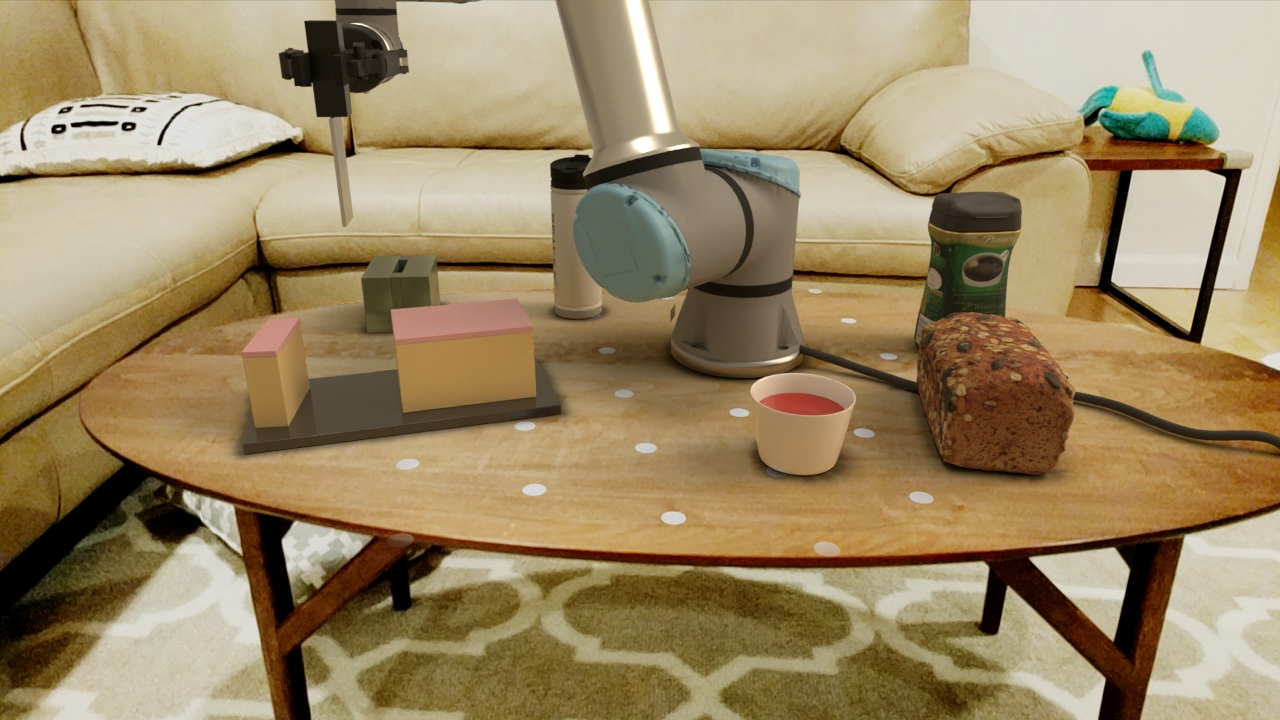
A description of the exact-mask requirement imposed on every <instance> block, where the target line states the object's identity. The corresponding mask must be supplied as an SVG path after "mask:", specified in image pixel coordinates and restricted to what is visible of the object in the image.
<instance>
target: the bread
mask: <svg viewBox="0 0 1280 720" xmlns="http://www.w3.org/2000/svg"><path fill="white" fill-rule="evenodd" d="M916 370H917V371H916V382H917V383H918V390H919V392H918V394H919V396H920V400H921V404H922V407H923V412H924V415H925V416H926V420H927V422H928V425H929V430H930V431H931V432H932V438H933V440H934V443H935V447H936V448H937V451H938V454H939V455H940V456H941V458H942V461H943V462H946V463H949V464H951V465H954V466H958V467H961V468H965V469H974V470H975V469H976V470H982V471H999V472H1007V473H1016V474H1017V473H1018V474H1019V473H1020V474H1027V475H1036V476H1037V475H1044V474H1049V473H1051V472H1052V471H1053V470H1054V469H1055V468H1056V467H1057V465H1058V463H1060V456H1061V454H1062V453H1064V452H1065V451H1066V448H1067V447H1066V442H1067V440H1068V439H1069V431H1070V429H1071V427H1072V425H1073V423H1074V418H1075V409H1074V405H1073V404H1074V403H1075V401H1074V400H1073V398H1074V395H1075V392H1077V390H1076V387H1075V386H1074V385H1073V384H1072V383H1071V381H1070V380H1069V378H1070V376H1069V374H1068V373H1067V372H1065V371H1064V370H1063V367H1062V365H1061V364H1060V363H1058V361H1057V360H1056V358H1055V357H1053V356H1052V353H1050V352H1049V351H1048V350H1047V349H1046V348H1045V347H1044V346H1043V345H1042V343H1041V342H1040V341H1039V339H1038V338H1037V336H1036V333H1033V331H1032V330H1031V328H1030V327H1029V326H1028V325H1027V324H1025V323H1024V322H1022V321H1021V320H1019V319H1017V318H1013V317H1006V316H1005V317H1002V316H998V315H993V314H981V313H974V312H970V313H966V312H964V313H957V312H955V313H951V314H949V315H948V316H946V317H945V318H942V319H940V320H938V321H936V322H931V323H930V324H929V325H927V326H925V328H924V329H922V332H921V335H920V339H919V346H918V356H917V358H916Z"/></svg>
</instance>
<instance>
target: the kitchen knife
mask: <svg viewBox="0 0 1280 720" xmlns="http://www.w3.org/2000/svg"><path fill="white" fill-rule="evenodd" d="M303 22H304V23H303V25H304V31H305V38H306V45H307V52H308V54H309V61H310V69H311V76H312V91H313V98H314V99H313V100H314V107H315V115H316V118H328V123H329V132H330V139H331V147H332V156H333V164H334V171H335V179H336V187H337V194H338V202H339V210H340V218H341V226H342V227H343V228H347V227H348V225H349V224H350V222H351V221H352V220H353V218H354V210H353V202H352V195H351V194H352V193H351V186H350V185H351V184H350V178H349V169H348V161H347V154H346V145H345V137H344V129H343V128H344V127H343V122H342V121H343V120H342V118H347V117H348V118H349V116H351V115H352V114H353V108H352V101H351V100H352V99H351V92H350V90H349V84H347V85H345V86H336V85H335V77H334V69H333V60H332V56H333V55H337V54H341V53H345V48H344V39H343V31H342V22H341V20H336V19H334V20H333V19H319V20H318V19H309V20H304V21H303Z"/></svg>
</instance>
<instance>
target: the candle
mask: <svg viewBox="0 0 1280 720" xmlns="http://www.w3.org/2000/svg"><path fill="white" fill-rule="evenodd" d="M749 393H750V402H751V408H752V409H751V410H752V416H753V425H754V431H755V438H756V445H757V451H758V456H759V459H761V461H762V462H763V463H764V464H765V465H767V466H768V467H769V468H771V469H772V470H775V471H777V472H781V473H784V474H790V475H794V476H813V475H818V474H823V473H825V472H828V471H829V470H831V469H832V468H833V467H834V466H835V465H836V463H837V462H838V459H839V456H840V453H841V450H842V447H843V444H844V441H845V437H846V434H847V431H848V428H849V424H850V422H851V418H852V414H853V412H854V408H855V406H856V402H857V396H856V394H855V392H854V391H853V389H852V388H850V387H849V386H848V385H846V384H844V383H843V382H841V381H838V380H836V379H833V378H831V377H826V376H823V375H819V374H812V373H805V372H804V373H802V372H801V373H800V372H784V373H781V374H776V375H771V376H766V377H761V378H759V379H758V380H756V381H755V382H754V383H753V384H752V385H751V387H750V391H749Z"/></svg>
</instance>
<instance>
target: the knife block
mask: <svg viewBox="0 0 1280 720" xmlns="http://www.w3.org/2000/svg"><path fill="white" fill-rule="evenodd" d="M437 260H438V259H437V254H414V255H413V254H411V255H408V254H407V255H379V256H378V255H377V256H376V255H375V256H373V257H372V259H371V260H370V263H368V266H367V268H366V269H365V270H364V272H363V274H362V276H361V278H360V282H361V289H362V290H361V291H362V299H363V306H364V314H365V322H366V323H365V324H366V332H367V333H368V334H370V333H371V334H373V333H393V327H392V318H391V310H392V309H404V308H415V307H426V306H437V305H441V296H440V283H439V273H438V272H439V271H438V261H437Z"/></svg>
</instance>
